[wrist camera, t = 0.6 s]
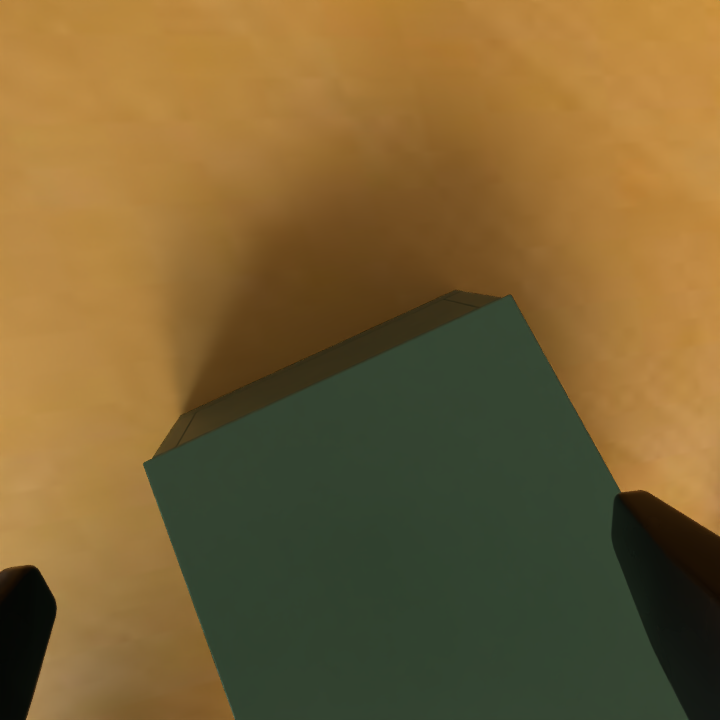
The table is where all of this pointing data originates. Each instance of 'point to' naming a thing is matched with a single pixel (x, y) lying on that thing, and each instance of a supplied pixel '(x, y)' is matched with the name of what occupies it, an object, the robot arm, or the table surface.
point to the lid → (414, 544)
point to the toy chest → (321, 366)
